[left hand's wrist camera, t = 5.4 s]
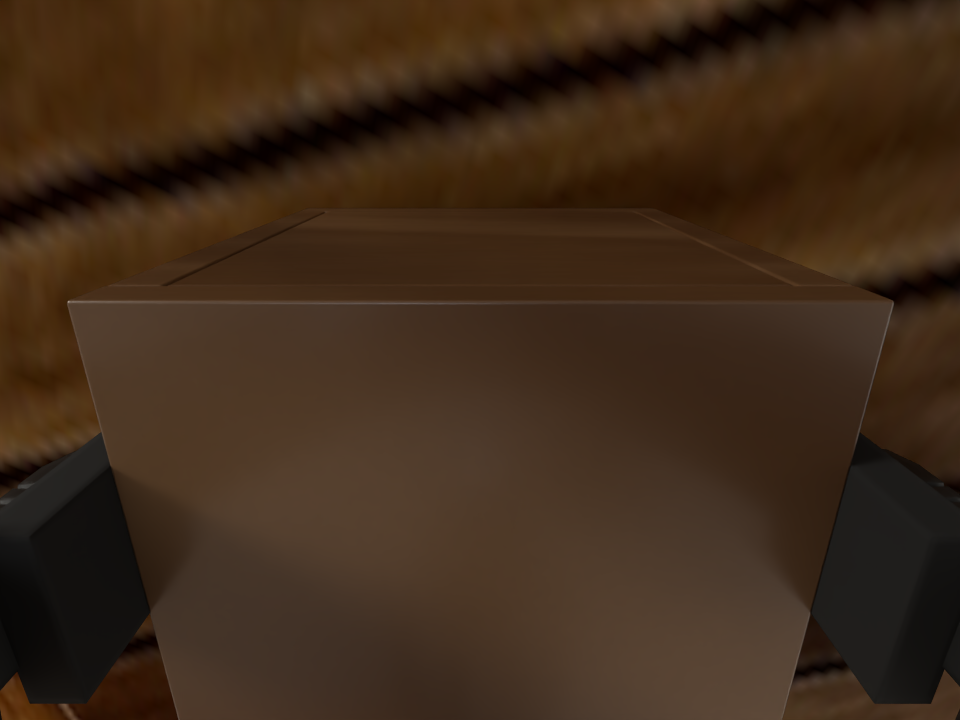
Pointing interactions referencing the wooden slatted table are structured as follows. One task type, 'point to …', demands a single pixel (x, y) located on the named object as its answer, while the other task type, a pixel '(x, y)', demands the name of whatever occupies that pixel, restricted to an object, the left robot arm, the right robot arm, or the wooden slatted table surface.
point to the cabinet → (480, 462)
